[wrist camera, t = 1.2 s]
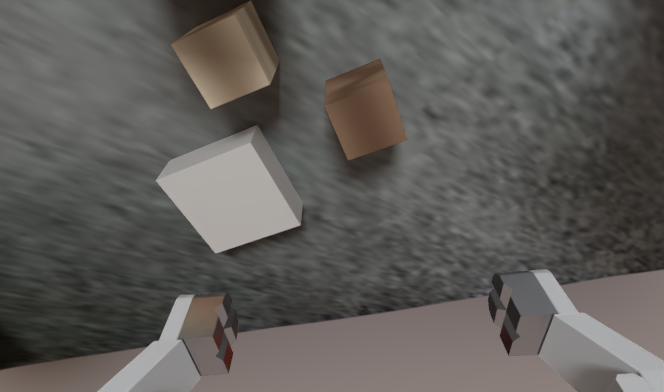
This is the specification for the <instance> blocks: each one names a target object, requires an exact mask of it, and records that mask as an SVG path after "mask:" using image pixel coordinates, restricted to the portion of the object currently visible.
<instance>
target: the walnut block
mask: <svg viewBox="0 0 664 392" xmlns="http://www.w3.org/2000/svg"><path fill="white" fill-rule="evenodd" d="M325 109H326V111H327V113H328V115H329V118H330V120H331V122H332V125H333V127H334V129H335V132H336V134H337V136H338V138H339V141H340V143H341V145H342V148H343V150H344V152H345V155H346V157H347V159H348V161H349V160H351V159H354V158H357V157H360V156H363V155H366V154H369V153H372V152H374V151H377V150H380V149H383V148H386V147H389V146H392V145H394V144H397V143H400V142H403V141H406V140H407V137H406V134H405V130H404V127H403V124H402V121H401V118H400V115H399V112H398V109H397V105H396V102H395V99H394V96H393V93H392V90H391V87H390V84H389V81H388V78H387V75H386V73H385V70H384V67H383V65H382V62H381V59H378V60H376V61H373V62H371V63H368V64H366V65H363V66H361V67H359V68H356V69H354V70H351V71H349V72H346V73H344V74H341V75H339V76H336V77H334V78H331V79H329V80H326V88H325Z"/></svg>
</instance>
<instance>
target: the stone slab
mask: <svg viewBox="0 0 664 392" xmlns="http://www.w3.org/2000/svg"><path fill="white" fill-rule="evenodd" d="M156 181H157V183H158V184H159V185H160V186H161V188H162V189H163V190H164V191H165V192H166V194H167V195H168V196H169V197H170V199H171V200H172V201H173V202H174V203H175V205H176V206H177V207H178V208H179V209H180V211H181V212H182V213H183V214H184V216H185V217H186V218H187V219H188V220H189V222H190V223H191V224H192V225H193V226H194V228H195V229H196V230H197V231H198V233H199V234H200V235H201V236H202V237H203V239H204V240H205V241H206V242H207V244H208V245H209V246H210V247H211V248H212V250H213V251H214V252H215V253H219V252H222V251H225V250H228V249H231V248H234V247H237V246H240V245H243V244H246V243H249V242H252V241H255V240H258V239H261V238H264V237H267V236H270V235H273V234H276V233H279V232H282V231H285V230H288V229H291V228H294V227H297V226H300V225H301V218H302V208H303V203H302V201H301V199H300V198H299V196H298V194H297V192H296V191H295V189H294V187H293V186H292V184H291V182H290V180H289V179H288V177H287V175H286V173H285V172H284V170H283V168H282V166H281V165H280V163H279V161H278V160H277V158H276V156H275V154H274V153H273V151H272V149H271V147H270V146H269V144H268V142H267V141H266V139H265V137H264V135H263V134H262V132H261V130H260V128H259V127H258V125H255V126H253V127H251V128H248V129H246V130H243V131H241V132H238V133H236V134H233V135H231V136H229V137H226V138H224V139H221V140H219V141H216V142H214V143H211V144H209V145H207V146H204V147H202V148H199V149H197V150H194V151H192V152H189V153H187V154H185V155H182V156H180V157H177V158H175V159H172V160H170V161H169V162H168V164H167V165H166V167H165V168H164V169H163V171H162V172H161V174H160V175H159V176H158V178H157V179H156Z"/></svg>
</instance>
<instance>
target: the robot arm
mask: <svg viewBox="0 0 664 392" xmlns="http://www.w3.org/2000/svg"><path fill="white" fill-rule="evenodd" d="M492 284H493V286H494V289H493V290H492V291H490V292H489V298H488V303H489V311H490V314H491V317H492V319H493V322H494V323H495V324H496V325H497V326H499V327H500V328H501V333H500V338H501V340H502V342H503V344H504V347H505V349H506V351H507V353H508V355H509V356H520V355H539V357H540V358H541V359H542V360H543V361H544V362H545V363H546V364H548V365H549V366H550V367H551V368H552V369H553V370H554V371H555V372H557V373H558V374H559V375H560V376H561V377H562V378H563V379H564V380H565V381H567V382H568V383H569V384H570V385H571V386H572V387H573V388H574V389H575V390H577V391H578V392H664V361H663V360H661V359H659V358H658V357H656V356H654V355H653V354H651V353H649V352H648V351H646V350H644V349H643V348H641V347H640V346H638V345H636V344H635V343H633V342H632V341H630V340H628V339H627V338H625V337H623V336H622V335H620V334H618V333H617V332H615V331H613V330H612V329H610V328H609V327H607V326H605V325H604V324H602V323H600V322H599V321H597V320H595V319H594V318H592V317H590V316H589V315H587V314H586V313H579V312H578V311H577V309H576V308H575V307H574V305H573V304H572V302H571V301H570V299H569V298H568V296H567V295H566V294H565V292H564V291H563V289H562V288H561V286H560V285H559V284H558V282H557V281H556V279H555V278H554V276H553V275H552V273H551V272H550V271H548V270H547V269H544V270H531V271H517V272H505V273H495V274H494V276H493V279H492ZM231 303H232V299H231V296H230V294H229V293H211V294H194V295H180V296H179V297H178V298H177V299H176V301H175V303H174V306H173V308H172V310H171V313H170V315H169V318H168V320H167V322H166V325H165V327H164V329H163V332H162V334H161V337H160V339H159V341H154V342H153V343H151V344H150V345H149V346H148V347H147V348H146V349H145V350H144V351H142V352H141V353H140V354H139V355H138V356H137V357H136V358H135V359H134V360H132V361H131V362H130V363H129V364H128V365H127V366H126V367H124V368H123V369H122V370H121V371H120V372H119V373H118V374H117V375H115V376H114V377H113V378H112V379H111V380H110V381H109V382H108V383H106V384H105V385H104V386H103V387H102V388H101V389H100V390H99V391H97V392H190V391H191V390H192V389H193V387H194V386H195V385H196V383H197V382H198V381H199V380H200V379H201V377H200V376H208V375H219V374H228V373H229V369H230V365H231V361H232V356H233V351H232V349H231V345H232V344H233V343H234V342H235V341H236V339H237V334H238V317H237V313H236V310H235V309H233V308H232V307H231Z"/></svg>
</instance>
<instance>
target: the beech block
mask: <svg viewBox="0 0 664 392" xmlns="http://www.w3.org/2000/svg"><path fill="white" fill-rule="evenodd" d="M171 46H172V48H173V49H174V51H175V52H176V54H177V56H178V57H179V59H180V60H181V62H182V64H183V65H184V67H185V69H186V70H187V72H188V73H189V75H190V77H191V78H192V80H193V81H194V83H195V85H196V86H197V88H198V89H199V91H200V93H201V94H202V96H203V98H204V99H205V101H206V102H207V104H208V106H209V107H210V109H213V108H215V107H217V106H220V105H222V104H225V103H227V102H230V101H232V100H234V99H237V98H239V97H242V96H244V95H246V94H249V93H251V92H254V91H256V90H258V89H261V88H263V87H266V86H268V85H270V84H271V81H272V79H273V76H274V74H275V72H276V69H277V67H278V64H279V62H280V61H279V59H278V57H277V54H276V52H275V50H274V48H273V46H272V44H271V42H270V40H269V37H268V35H267V33H266V31H265V29H264V27H263V25H262V23H261V21H260V18H259V16H258V14H257V12H256V10H255V8H254V6H253V4H252V2H251V1H249V2H247V3H245V4H243V5H240V6H238V7H236V8H234V9H232V10H230V11H228V12H226V13H224V14H222V15H219V16H217V17H215V18H213V19H211V20H209V21H207V22H205V23H203V24H201V25H198V26H196V27H195V28H194V29H192V30H191V31H189V32H188V33H186V34H185V35H183V36H182V37H181V38H179V39H178V40H176V41H175V42H173V43H172V44H171Z"/></svg>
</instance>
